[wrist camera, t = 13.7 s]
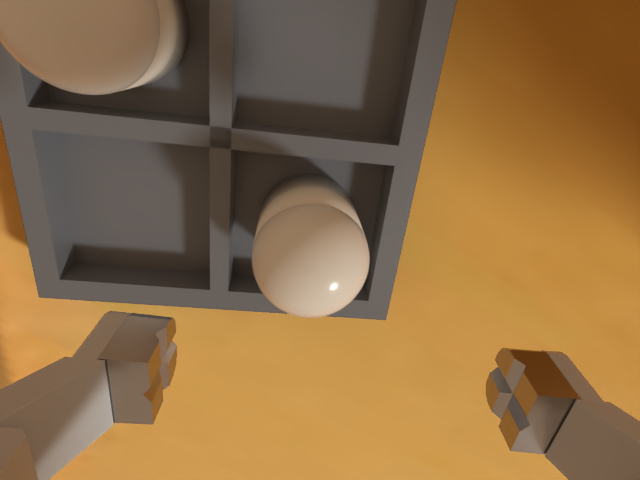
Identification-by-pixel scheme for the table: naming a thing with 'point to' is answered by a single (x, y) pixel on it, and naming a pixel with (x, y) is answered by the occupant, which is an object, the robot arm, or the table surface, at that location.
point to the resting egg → (96, 41)
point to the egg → (309, 247)
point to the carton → (226, 150)
